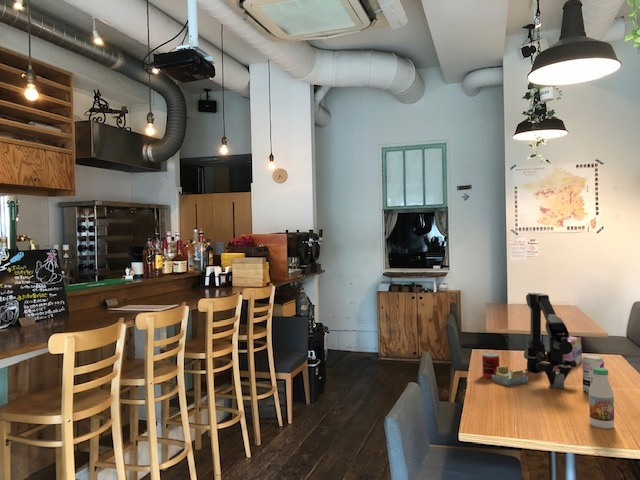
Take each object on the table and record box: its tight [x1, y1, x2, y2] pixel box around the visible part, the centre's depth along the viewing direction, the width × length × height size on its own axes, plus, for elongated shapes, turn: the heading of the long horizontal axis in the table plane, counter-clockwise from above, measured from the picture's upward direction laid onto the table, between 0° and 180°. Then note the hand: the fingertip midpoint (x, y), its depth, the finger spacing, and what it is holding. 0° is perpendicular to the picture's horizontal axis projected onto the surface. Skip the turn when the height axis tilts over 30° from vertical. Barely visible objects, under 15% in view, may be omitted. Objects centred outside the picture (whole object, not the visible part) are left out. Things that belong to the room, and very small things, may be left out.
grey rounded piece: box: [549, 371, 565, 390], centre depth 223 cm, size 6×6×6 cm
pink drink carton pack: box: [554, 335, 583, 370], centre depth 262 cm, size 24×8×14 cm, turn 135°
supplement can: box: [581, 354, 605, 394], centre depth 215 cm, size 8×8×15 cm
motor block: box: [491, 365, 529, 387], centre depth 233 cm, size 14×10×6 cm
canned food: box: [481, 351, 500, 380], centre depth 241 cm, size 8×8×11 cm
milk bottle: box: [588, 367, 615, 430], centre depth 177 cm, size 8×8×20 cm
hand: (556, 384), depth 223 cm, fingers closed on grey rounded piece, 6 cm apart
